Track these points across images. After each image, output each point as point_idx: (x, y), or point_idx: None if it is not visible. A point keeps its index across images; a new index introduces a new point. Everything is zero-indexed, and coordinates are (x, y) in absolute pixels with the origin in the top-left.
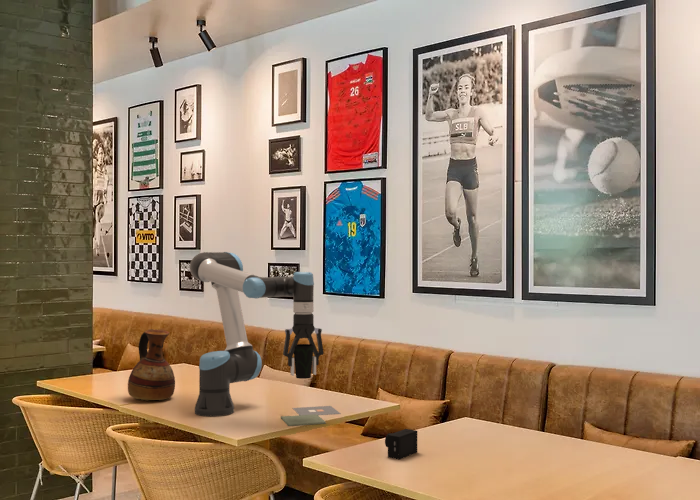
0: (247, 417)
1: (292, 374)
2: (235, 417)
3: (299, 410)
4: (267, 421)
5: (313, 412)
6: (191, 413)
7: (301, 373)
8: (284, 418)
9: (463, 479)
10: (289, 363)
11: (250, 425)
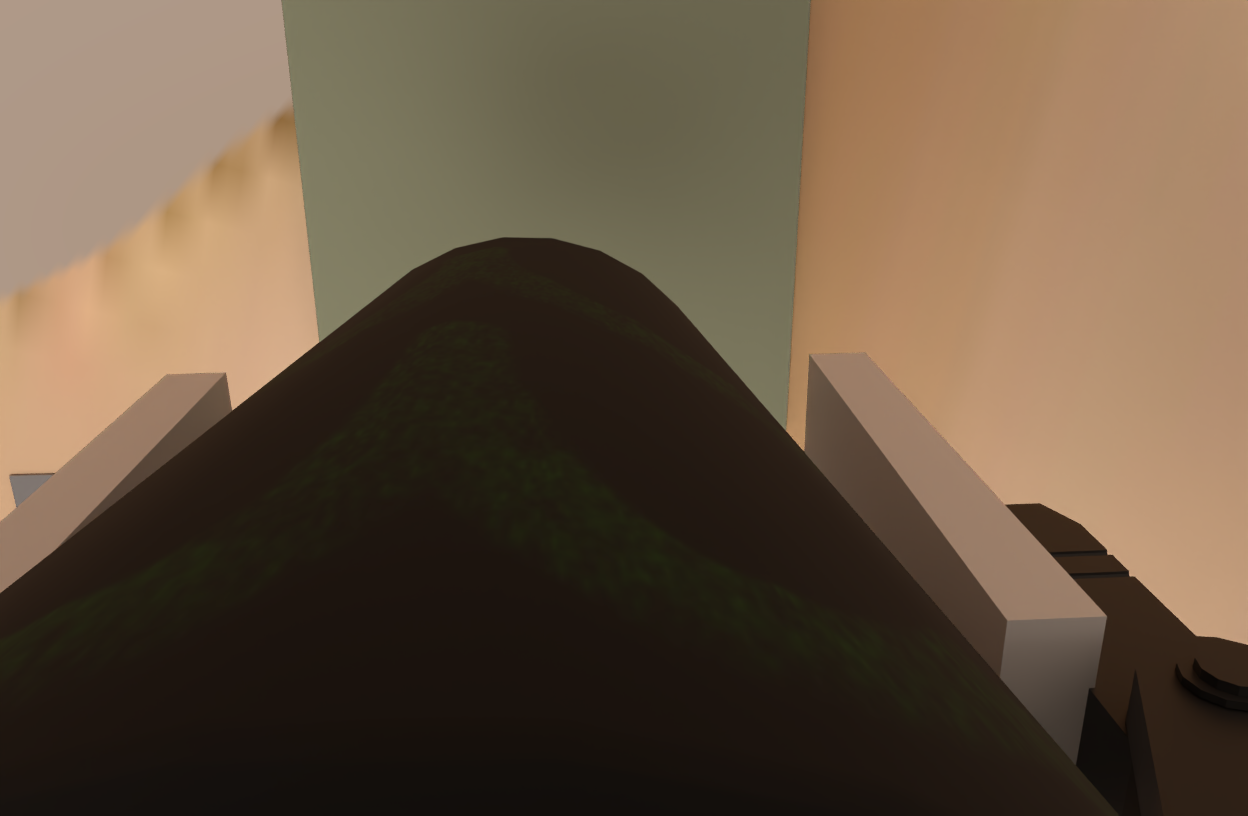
0: (1120, 549)
1: (866, 362)
2: (1237, 578)
3: None
4: (976, 295)
5: None
6: None
7: (626, 279)
8: (769, 316)
9: None
10: (1079, 557)
11: (1230, 133)
